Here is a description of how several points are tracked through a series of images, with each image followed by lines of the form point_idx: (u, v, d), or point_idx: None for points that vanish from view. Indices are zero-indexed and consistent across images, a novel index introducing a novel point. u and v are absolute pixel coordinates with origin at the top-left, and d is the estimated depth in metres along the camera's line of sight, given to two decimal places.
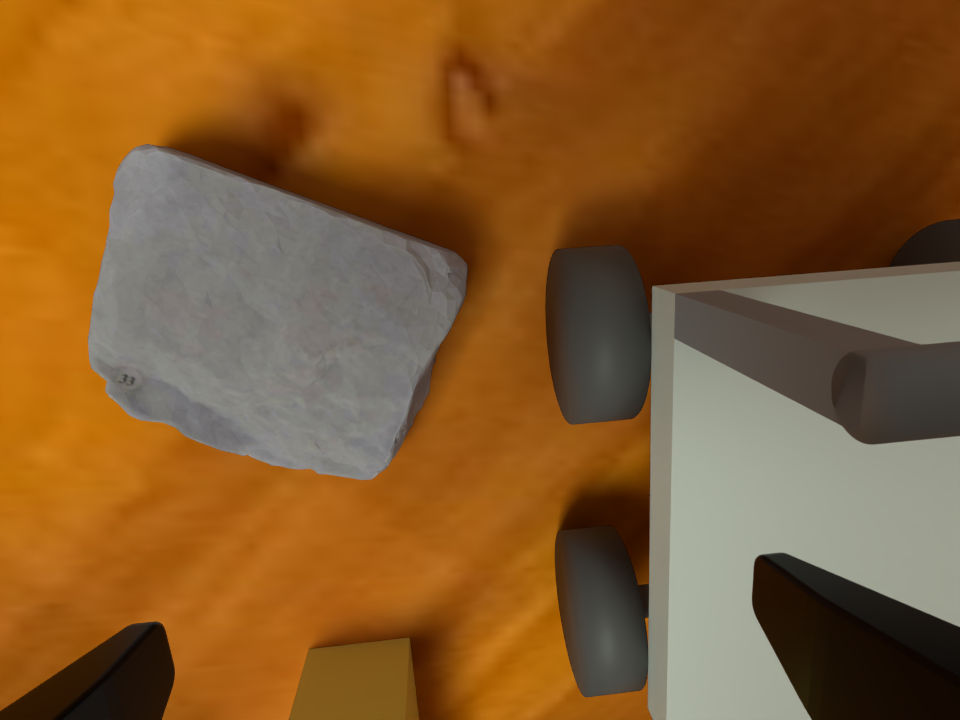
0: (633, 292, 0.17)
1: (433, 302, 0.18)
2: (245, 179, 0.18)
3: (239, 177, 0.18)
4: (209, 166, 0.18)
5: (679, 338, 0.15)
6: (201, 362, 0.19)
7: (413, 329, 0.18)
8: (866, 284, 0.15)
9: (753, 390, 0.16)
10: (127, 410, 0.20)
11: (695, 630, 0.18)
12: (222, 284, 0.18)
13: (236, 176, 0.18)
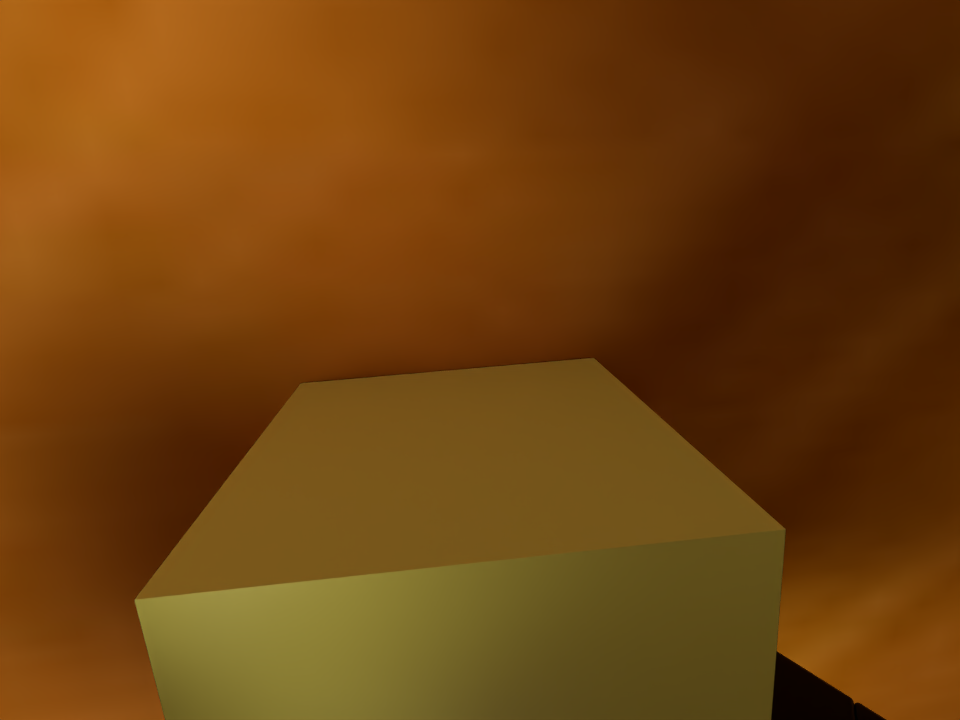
0: None
1: None
2: None
3: None
4: None
5: None
6: None
7: None
8: None
9: None
10: None
11: None
12: None
13: None
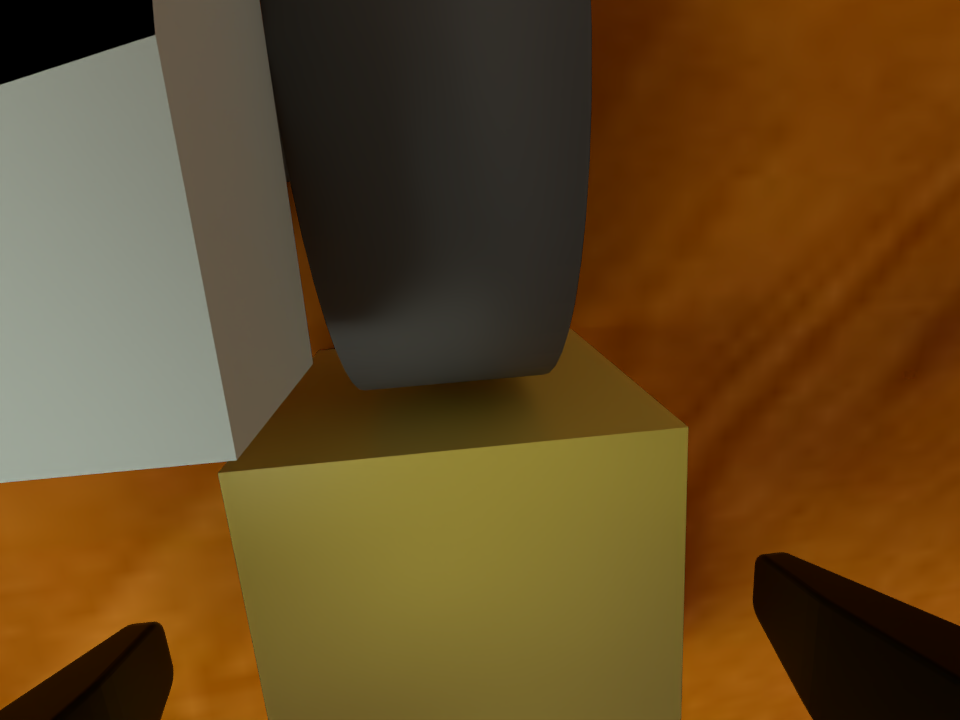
0: None
1: None
2: None
3: None
4: None
5: None
6: None
7: None
8: None
9: None
10: None
11: None
12: None
13: None
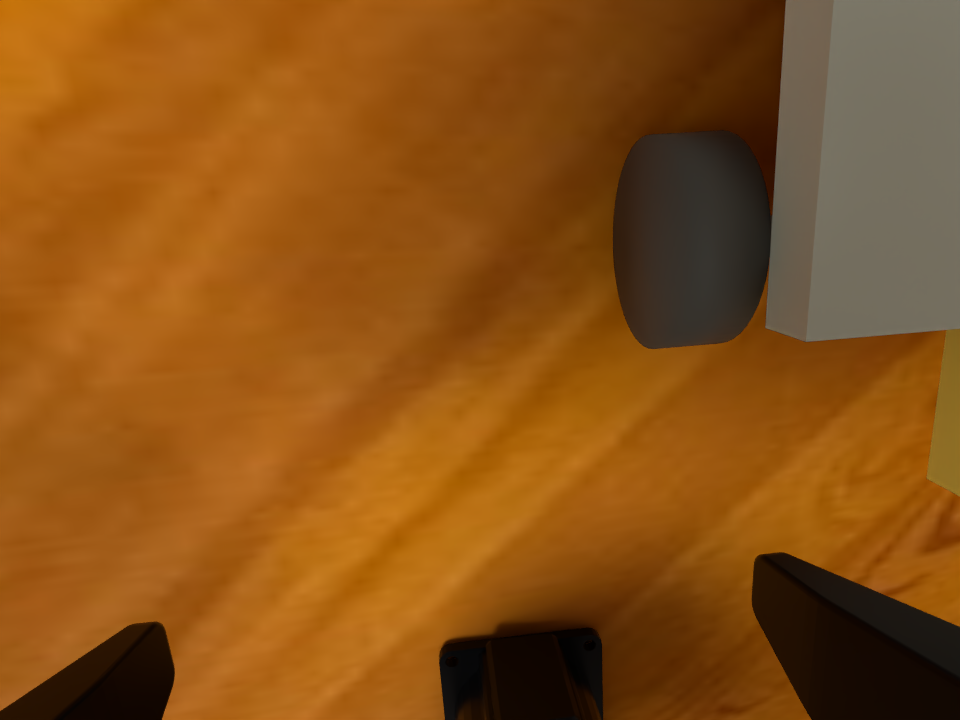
0: None
1: None
2: None
3: None
4: None
5: None
6: None
7: None
8: None
9: None
10: None
11: (864, 124, 0.12)
12: None
13: None
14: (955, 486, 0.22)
